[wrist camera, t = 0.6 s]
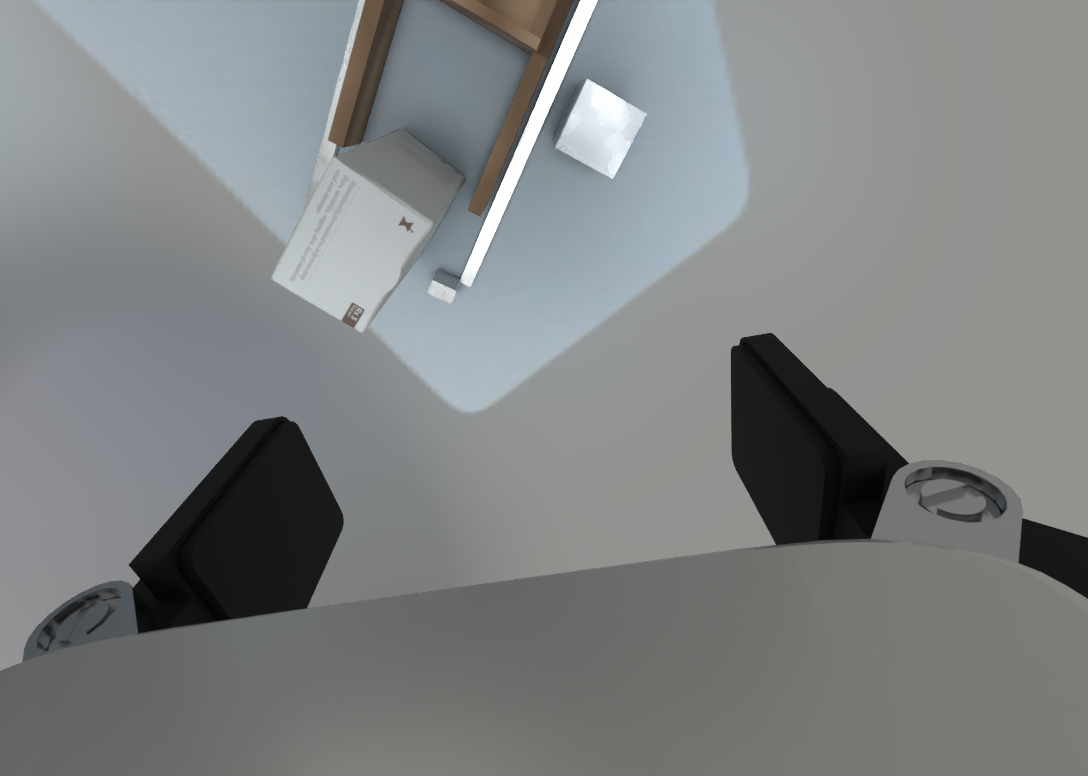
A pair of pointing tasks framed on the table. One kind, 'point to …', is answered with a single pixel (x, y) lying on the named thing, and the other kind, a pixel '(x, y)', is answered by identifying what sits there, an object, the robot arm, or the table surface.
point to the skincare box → (367, 226)
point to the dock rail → (448, 284)
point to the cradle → (496, 3)
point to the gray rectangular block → (598, 128)
